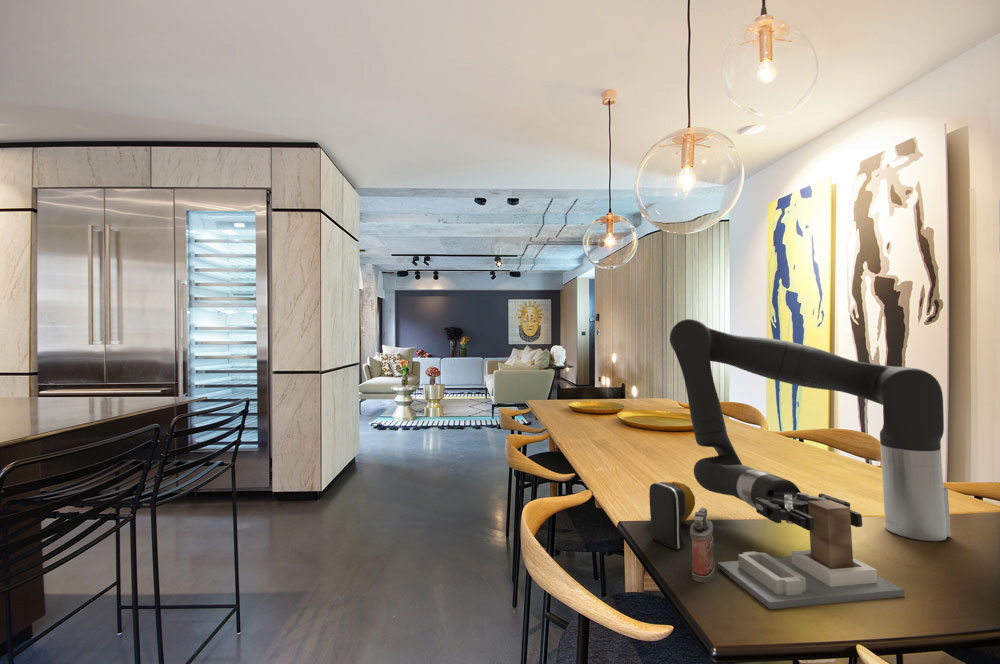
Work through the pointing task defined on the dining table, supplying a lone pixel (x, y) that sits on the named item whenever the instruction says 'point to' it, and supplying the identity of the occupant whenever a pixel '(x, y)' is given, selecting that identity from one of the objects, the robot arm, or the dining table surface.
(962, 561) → the dining table surface
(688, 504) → the apple
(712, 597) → the dining table surface
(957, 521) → the dining table surface
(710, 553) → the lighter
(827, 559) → the tall brown wooden block
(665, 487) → the battery charger
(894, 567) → the dining table surface
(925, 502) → the robot arm
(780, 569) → the holder board
